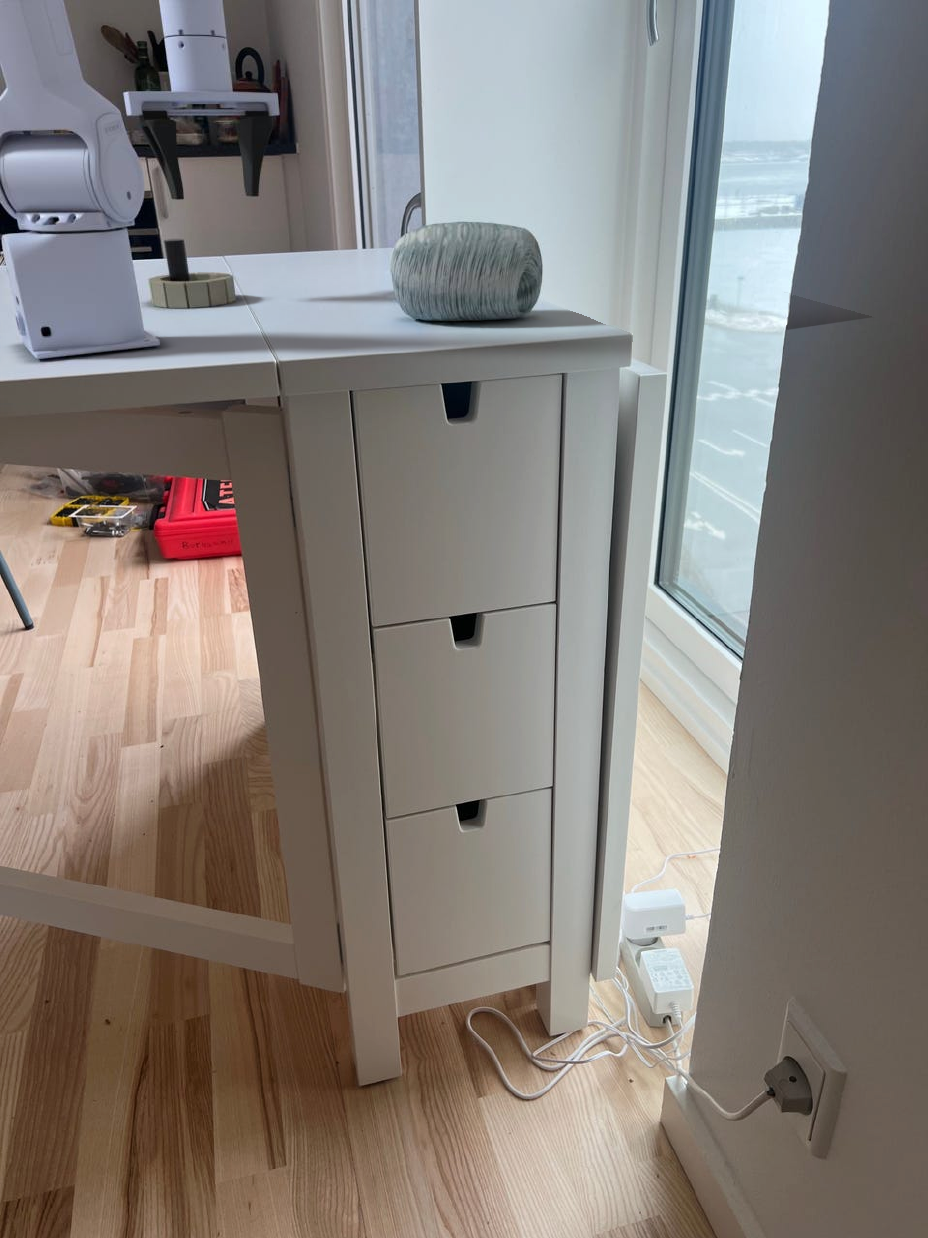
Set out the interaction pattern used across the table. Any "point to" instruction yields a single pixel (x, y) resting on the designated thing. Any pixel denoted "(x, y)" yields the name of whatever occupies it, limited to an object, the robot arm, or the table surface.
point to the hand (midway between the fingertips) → (215, 197)
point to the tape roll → (192, 290)
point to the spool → (466, 271)
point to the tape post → (177, 260)
